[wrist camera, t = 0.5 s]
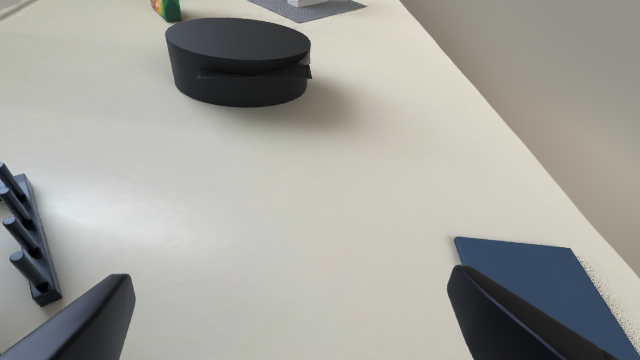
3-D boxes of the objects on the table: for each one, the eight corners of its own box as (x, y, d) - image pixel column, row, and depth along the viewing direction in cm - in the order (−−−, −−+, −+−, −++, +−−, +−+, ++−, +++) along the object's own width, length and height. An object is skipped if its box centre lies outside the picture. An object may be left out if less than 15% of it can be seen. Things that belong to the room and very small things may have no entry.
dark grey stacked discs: (185, 62, 49) (173, 10, 44) (304, 63, 52) (306, 14, 47) (167, 119, 39) (148, 60, 34) (314, 117, 42) (318, 61, 37)
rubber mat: (650, 386, 23) (658, 383, 22) (499, 375, 22) (504, 372, 21) (566, 251, 31) (570, 247, 30) (453, 240, 30) (456, 236, 29)
